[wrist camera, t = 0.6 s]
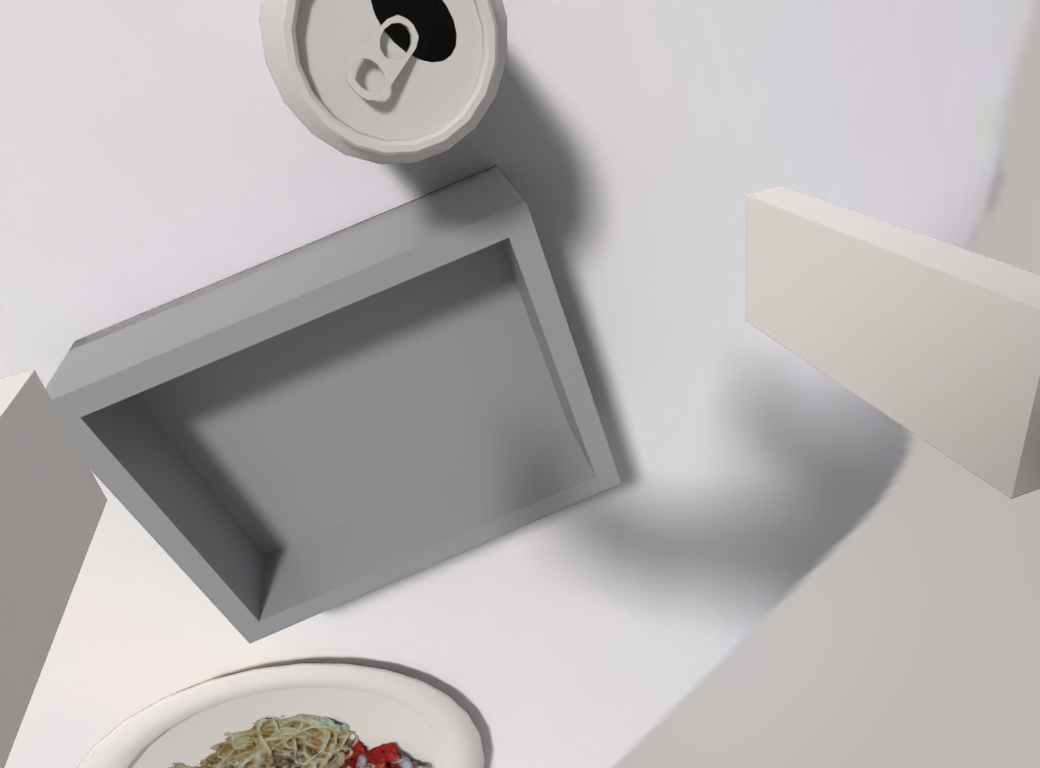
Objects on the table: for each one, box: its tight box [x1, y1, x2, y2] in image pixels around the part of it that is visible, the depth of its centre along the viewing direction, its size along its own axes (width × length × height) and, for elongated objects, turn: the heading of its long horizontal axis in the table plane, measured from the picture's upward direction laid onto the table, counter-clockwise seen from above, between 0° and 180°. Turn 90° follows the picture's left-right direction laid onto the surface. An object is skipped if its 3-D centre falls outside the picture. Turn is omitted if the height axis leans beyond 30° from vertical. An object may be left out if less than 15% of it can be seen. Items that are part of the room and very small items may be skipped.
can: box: [259, 0, 507, 164], centre depth 25 cm, size 8×8×12 cm
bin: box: [45, 166, 621, 643], centre depth 37 cm, size 22×17×6 cm
